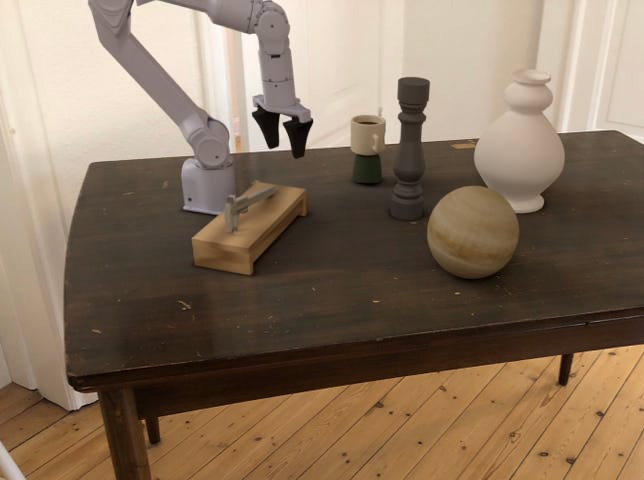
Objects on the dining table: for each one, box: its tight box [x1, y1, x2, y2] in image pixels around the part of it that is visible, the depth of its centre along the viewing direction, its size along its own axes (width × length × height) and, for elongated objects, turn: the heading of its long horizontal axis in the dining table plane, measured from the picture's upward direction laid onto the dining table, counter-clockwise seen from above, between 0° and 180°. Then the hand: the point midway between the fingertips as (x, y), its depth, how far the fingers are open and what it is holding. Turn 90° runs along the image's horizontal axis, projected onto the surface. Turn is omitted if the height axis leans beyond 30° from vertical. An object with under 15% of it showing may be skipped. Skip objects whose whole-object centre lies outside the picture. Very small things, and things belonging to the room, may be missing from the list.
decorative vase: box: [473, 68, 566, 214], centre depth 145 cm, size 18×18×25 cm
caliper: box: [225, 185, 278, 233], centre depth 128 cm, size 20×1×6 cm, turn 166°
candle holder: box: [390, 76, 431, 221], centre depth 137 cm, size 6×6×25 cm
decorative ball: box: [426, 185, 520, 280], centre depth 121 cm, size 15×15×15 cm
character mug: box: [350, 114, 387, 185], centre depth 153 cm, size 11×7×13 cm, turn 24°
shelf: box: [191, 181, 308, 276], centre depth 131 cm, size 10×26×5 cm, turn 165°
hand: (286, 152), depth 139 cm, fingers open, 7 cm apart
